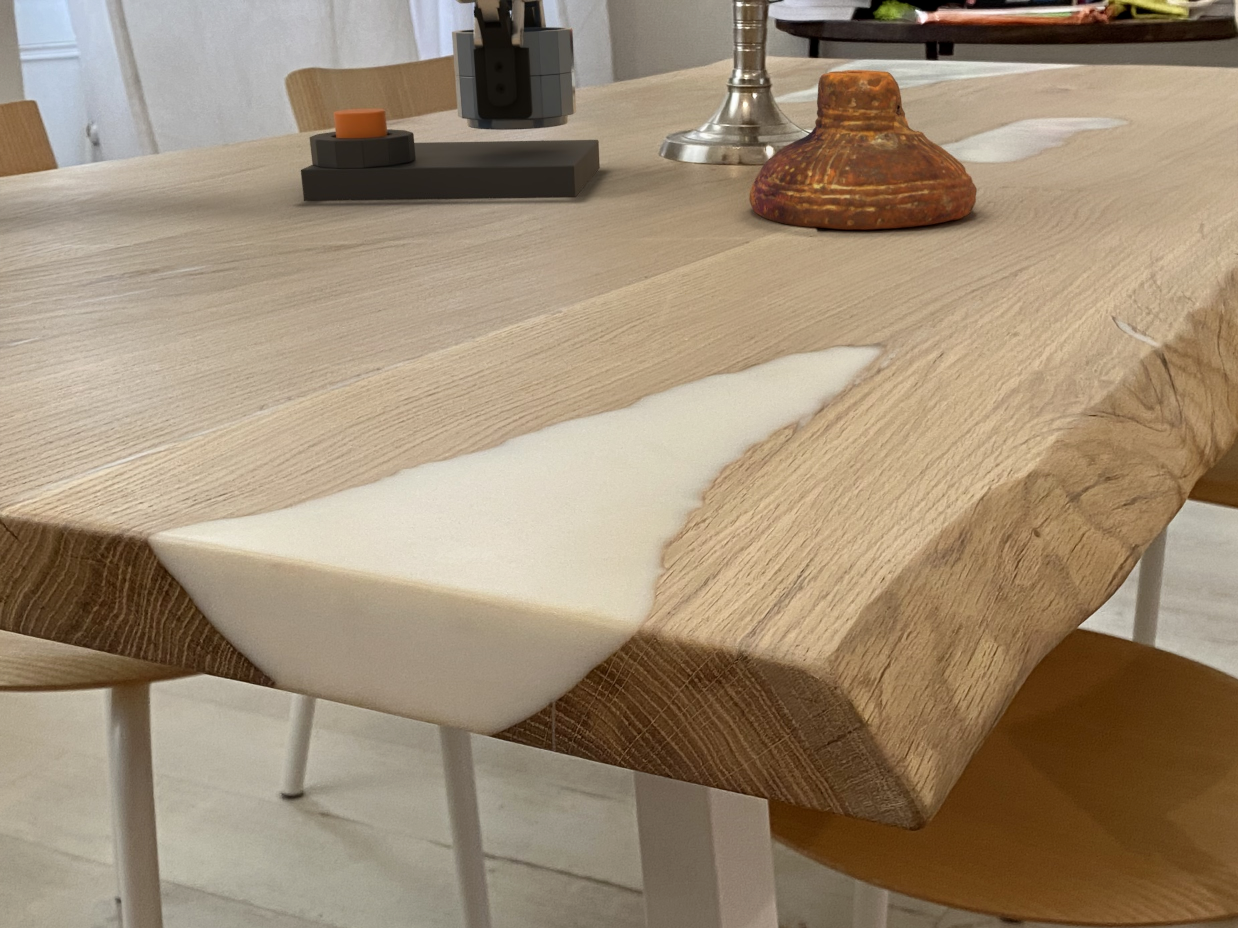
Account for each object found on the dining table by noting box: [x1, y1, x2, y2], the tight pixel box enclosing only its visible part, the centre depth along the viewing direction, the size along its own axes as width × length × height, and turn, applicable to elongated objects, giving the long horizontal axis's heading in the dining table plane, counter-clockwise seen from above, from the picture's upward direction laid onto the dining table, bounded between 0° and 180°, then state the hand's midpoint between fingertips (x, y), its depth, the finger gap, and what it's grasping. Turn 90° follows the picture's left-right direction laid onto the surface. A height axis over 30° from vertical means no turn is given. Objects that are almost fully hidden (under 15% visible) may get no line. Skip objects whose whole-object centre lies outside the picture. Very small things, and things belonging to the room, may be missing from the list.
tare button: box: [333, 107, 388, 138], centre depth 86 cm, size 3×3×2 cm
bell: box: [748, 69, 978, 231], centre depth 75 cm, size 12×12×7 cm
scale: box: [300, 128, 601, 202], centre depth 89 cm, size 16×13×4 cm
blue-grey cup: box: [451, 26, 577, 131], centre depth 89 cm, size 7×7×6 cm
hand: (516, 110), depth 90 cm, fingers closed on blue-grey cup, 7 cm apart
